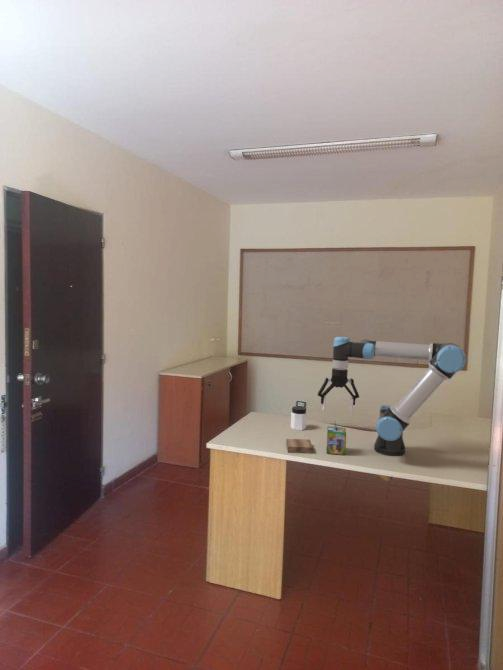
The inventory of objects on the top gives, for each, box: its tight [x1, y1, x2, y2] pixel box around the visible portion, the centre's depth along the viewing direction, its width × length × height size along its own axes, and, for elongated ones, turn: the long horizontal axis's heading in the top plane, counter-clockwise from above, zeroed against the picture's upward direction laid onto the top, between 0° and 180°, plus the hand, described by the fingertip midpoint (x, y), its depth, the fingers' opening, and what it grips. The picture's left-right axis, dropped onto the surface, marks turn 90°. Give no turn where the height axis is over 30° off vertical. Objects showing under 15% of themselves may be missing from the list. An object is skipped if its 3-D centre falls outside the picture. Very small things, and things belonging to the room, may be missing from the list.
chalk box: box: [326, 422, 347, 456], centre depth 228 cm, size 9×9×15 cm
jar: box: [290, 405, 308, 431], centre depth 265 cm, size 9×8×12 cm
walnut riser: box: [285, 438, 314, 454], centre depth 231 cm, size 12×12×3 cm
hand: (337, 410), depth 227 cm, fingers open, 13 cm apart
